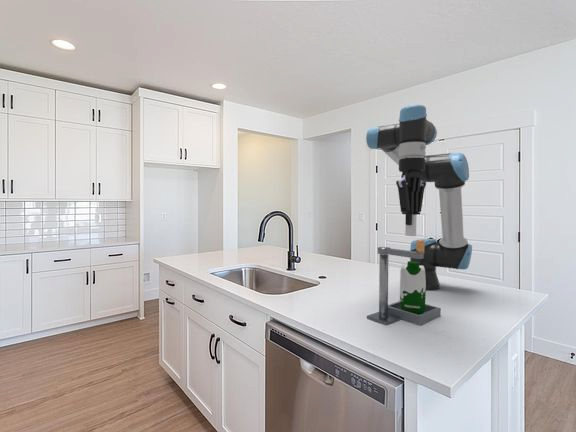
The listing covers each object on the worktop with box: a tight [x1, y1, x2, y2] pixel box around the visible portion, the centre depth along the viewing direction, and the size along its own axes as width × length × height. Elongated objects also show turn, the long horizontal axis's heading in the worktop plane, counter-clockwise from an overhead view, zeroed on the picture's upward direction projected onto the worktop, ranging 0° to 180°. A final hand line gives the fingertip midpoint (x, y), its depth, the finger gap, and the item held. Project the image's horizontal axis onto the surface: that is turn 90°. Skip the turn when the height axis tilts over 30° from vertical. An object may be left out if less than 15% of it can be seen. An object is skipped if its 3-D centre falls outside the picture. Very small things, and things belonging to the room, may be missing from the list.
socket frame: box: [388, 300, 442, 326], centre depth 118 cm, size 14×14×3 cm
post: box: [366, 254, 401, 326], centre depth 113 cm, size 8×8×23 cm
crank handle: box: [377, 239, 425, 259], centre depth 108 cm, size 17×4×6 cm, turn 38°
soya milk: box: [399, 261, 427, 315], centre depth 118 cm, size 9×9×20 cm
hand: (410, 235), depth 98 cm, fingers closed
